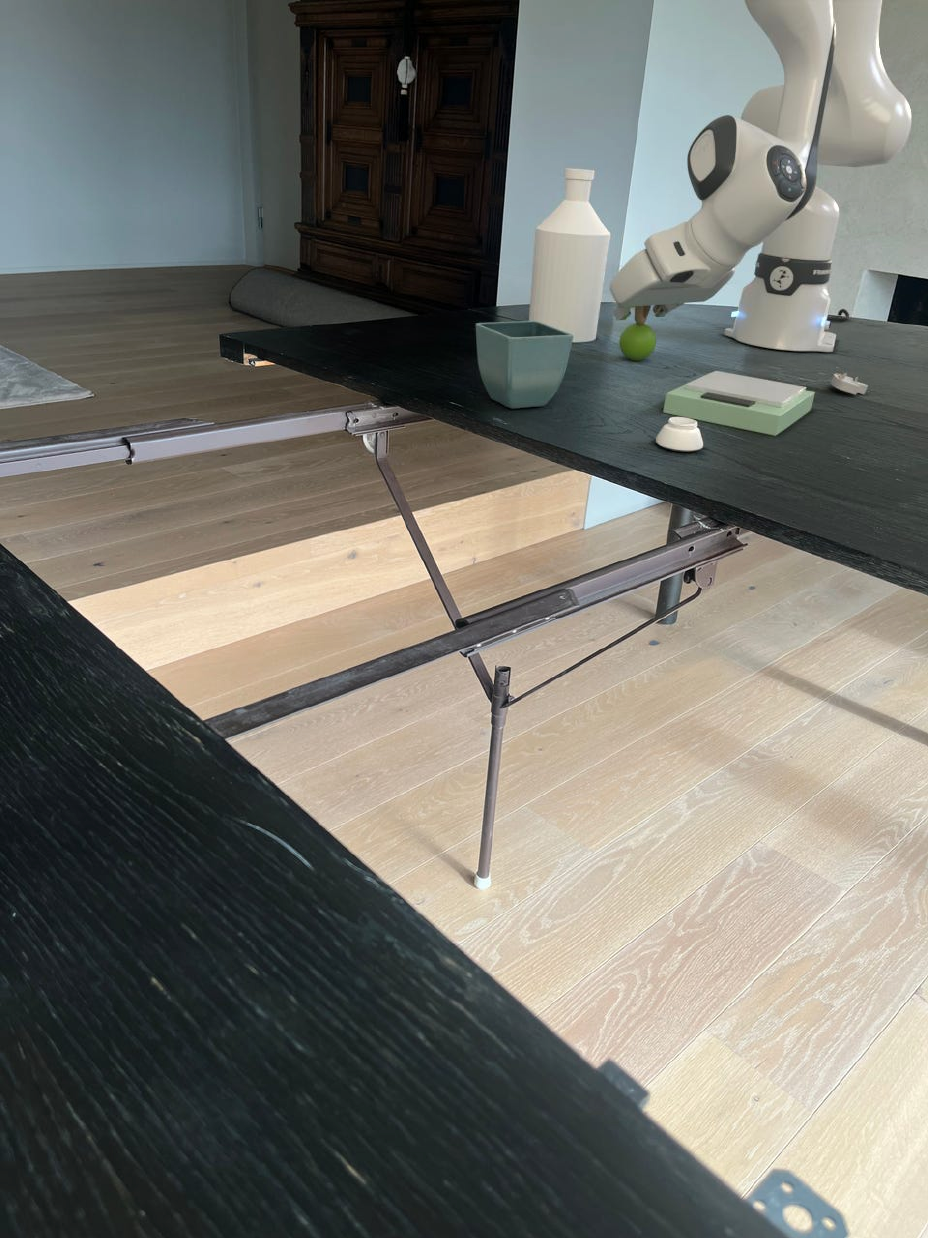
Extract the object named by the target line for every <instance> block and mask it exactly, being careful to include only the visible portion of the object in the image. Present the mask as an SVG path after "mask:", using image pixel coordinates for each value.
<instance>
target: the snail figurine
mask: <svg viewBox="0 0 928 1238" xmlns="http://www.w3.org/2000/svg"><path fill="white" fill-rule="evenodd" d="M651 306H652V305H649V306H635V307H634V321H635V323H632V324H629V325H628V326H627V327H626V328H624V329H623V331H622V332H621V334H620V337H619V349H620V351H621V353H622V354H623V355H624V356H625V358H627V359H629V360H631V361H637V362H638V361H643V360H646V359H647V358H649V357H650V356H651V355H652V354H653V353H654V351H655V348H656V346H657V336H656V332H655V331H654V330H653V328H652V327H651V326H650V325H648V324H646V321H647V319H648V316H649V314H650V311H651V308H652V307H651Z"/></svg>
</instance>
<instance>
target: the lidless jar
mask: <svg viewBox="0 0 928 1238" xmlns="http://www.w3.org/2000/svg"><path fill="white" fill-rule="evenodd" d="M667 422H668V423H666V424H664V425H663V426H662V428H661V429H660V431H659V432H658V434H657V435H656V438H655V443H657V444H658V445H659V446H661V447H662V448H664V449H666V450H669V451H672V452H680V453H692V452H696V451H699V450H701V449H703V448H704V442H703V438H702V434H701V431H700V430H701V429H700V428H698V421H697V420H696V419H692V418H687V417H683V416H673V417H672V416H671V417H669V418H668V420H667Z"/></svg>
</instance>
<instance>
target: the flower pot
mask: <svg viewBox="0 0 928 1238" xmlns="http://www.w3.org/2000/svg"><path fill="white" fill-rule="evenodd" d="M475 337H476V338H475V339H476V355H477V365H478V369H479V370H478V371H479V374H480V377H481V380H482V383H483V386H484V388H485V390H486V391H487V393H488V395H489V397H490V399H491V400H493V401H495V402H497V403H499V404H501V405H502V406H504V407H507V409H510V410H515V409H524V408H526V409H527V408H540V407H545V406H546V405H547V404H548V403H549V402H550V401H551V400H552V398H553V397H554V396H555V394H556V393H557V391H558V389H559V388H560V386H561V384H562V382H563V379H564V377H565V374H566V369H567V366H568V363H569V357H570V353H571V348H572V345H573V342H572V341H573V337H574V335H572V334H570V333H567V332H564V331H561V330H559V329H556V328H553V327H551V326H549V325H546V324H543V323H541V322H537V321H529V320H522V321H521V320H520V321H519V320H518V321H499V322H497V321H496V322H477V323H475Z"/></svg>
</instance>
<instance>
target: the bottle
mask: <svg viewBox="0 0 928 1238" xmlns="http://www.w3.org/2000/svg"><path fill="white" fill-rule="evenodd" d="M563 178H564V179H565V186H564V199H563V200H562V201H561V203H560V204H558V205H557V206H556V208H554V210H553V211H552V212H551V213H550V214H549V215H547V217H546V218H545V219H544V220H543V221H542V222H540V223H539V224H538V225H537V226H536V227H535V233H534V246H533V247H534V248H533V260H532V273H531V285H530V298H529V310H528V321H537V322H541V323H543V324H546V325H549V326H551V327H553V328H556V329H559V330H561V331H564V332H567V333H570V334H572V335H574V337H573V341H572V343H587V342H594V341H595V340H596V339H597V331H598V324H599V317H600V311H601V303H602V298H603V289H604V282H605V276H606V269H607V263H608V262H607V261H608V254H609V248H610V240H611V236H612V235H611V233H610V231H609V230H608V228H607V227H606V226H605V224H604V223H603V222H602V221H601V219H600V217H599V216H598V214H597V213H596V211H595V209H594V208H593V206H592V205H591V203H590V195H591V188H592V182H593V181H594V179H595V170H592V169H582V168H569V167H568V168H567V167H566V168H564V175H563Z"/></svg>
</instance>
